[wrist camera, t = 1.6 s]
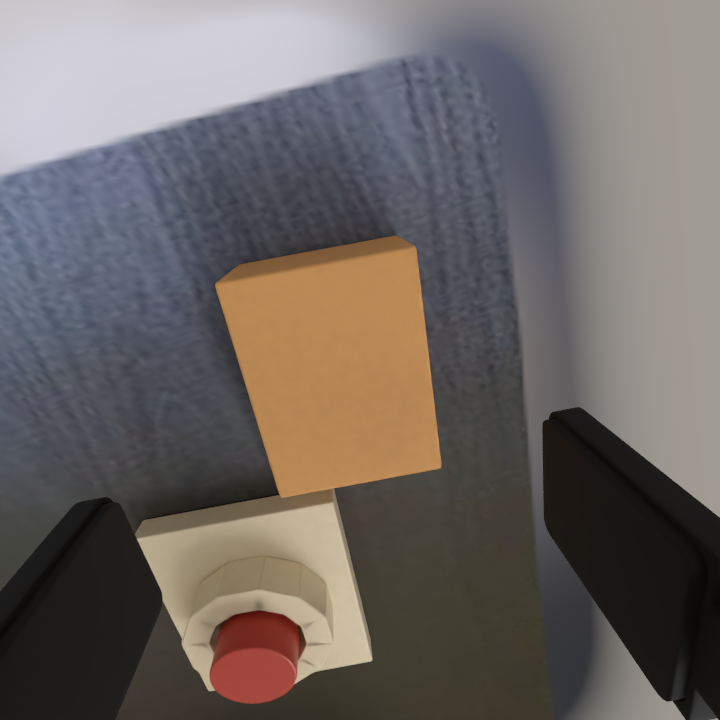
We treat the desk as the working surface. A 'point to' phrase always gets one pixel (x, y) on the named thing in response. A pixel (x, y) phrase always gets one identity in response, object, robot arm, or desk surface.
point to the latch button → (255, 657)
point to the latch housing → (261, 576)
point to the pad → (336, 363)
